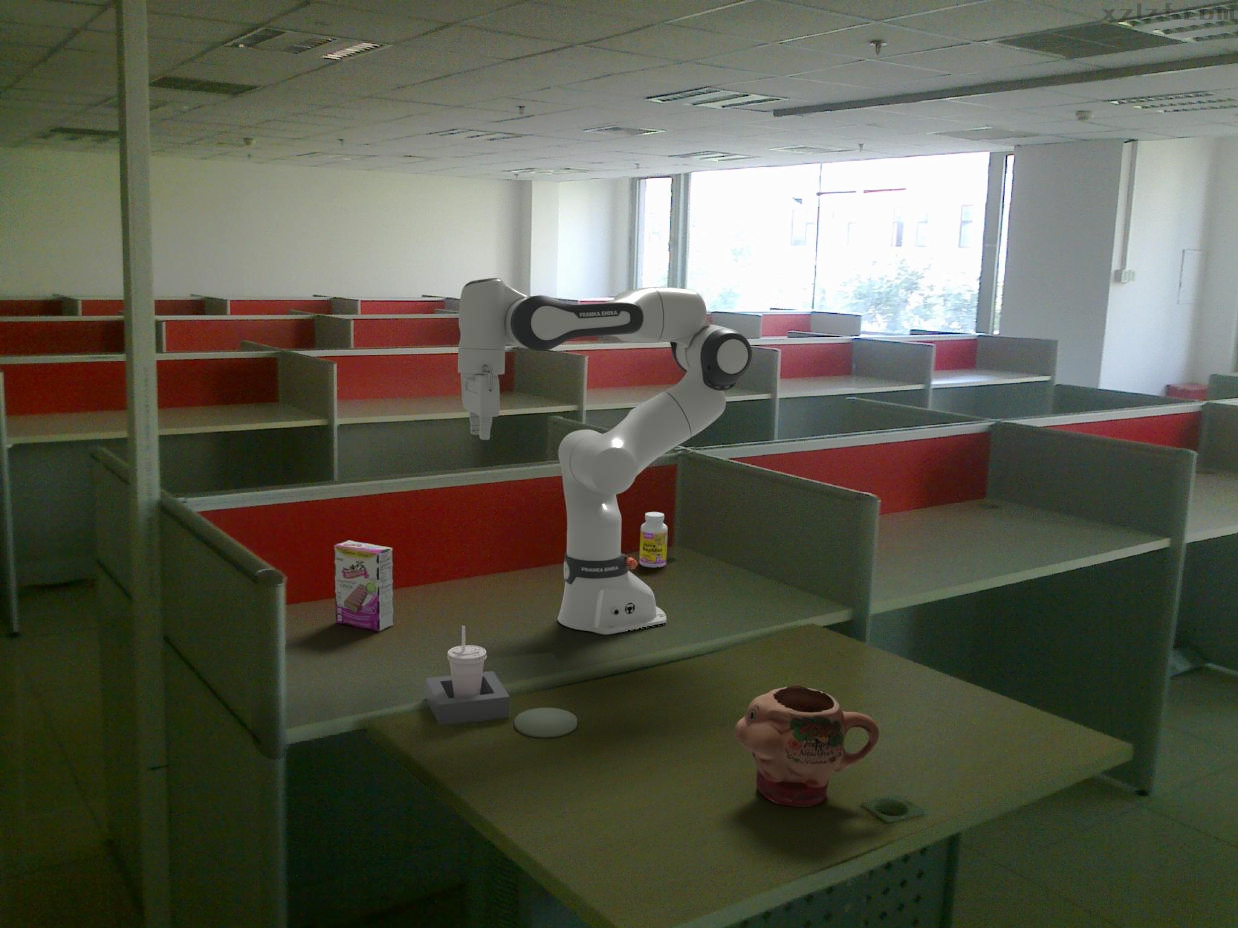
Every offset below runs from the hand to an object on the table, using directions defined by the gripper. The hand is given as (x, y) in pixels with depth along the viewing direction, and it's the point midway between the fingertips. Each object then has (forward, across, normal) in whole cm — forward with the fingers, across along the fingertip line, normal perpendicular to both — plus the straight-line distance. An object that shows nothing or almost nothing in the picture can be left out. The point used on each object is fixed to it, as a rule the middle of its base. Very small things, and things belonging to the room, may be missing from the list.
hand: (479, 437), depth 204 cm
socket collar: (+42, -32, +7) cm, 53 cm away
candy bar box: (+40, +13, +20) cm, 46 cm away
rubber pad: (+42, -42, -4) cm, 59 cm away
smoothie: (+42, -32, +7) cm, 53 cm away
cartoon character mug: (+43, -73, -34) cm, 91 cm away
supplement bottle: (+36, +42, -51) cm, 76 cm away
